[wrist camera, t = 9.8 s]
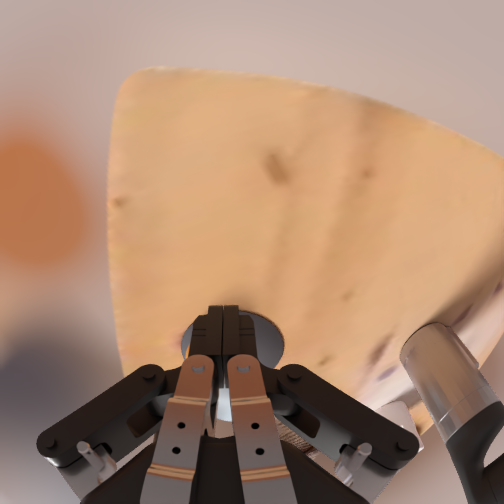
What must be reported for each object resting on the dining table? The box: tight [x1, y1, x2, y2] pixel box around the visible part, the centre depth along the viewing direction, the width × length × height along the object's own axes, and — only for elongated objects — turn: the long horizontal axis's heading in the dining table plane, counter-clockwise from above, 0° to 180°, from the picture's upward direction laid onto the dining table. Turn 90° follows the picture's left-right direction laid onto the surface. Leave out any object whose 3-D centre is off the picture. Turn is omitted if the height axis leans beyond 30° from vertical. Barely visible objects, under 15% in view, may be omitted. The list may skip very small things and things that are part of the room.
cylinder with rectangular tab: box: [375, 401, 424, 452], centre depth 41 cm, size 9×9×12 cm
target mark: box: [181, 311, 283, 383], centre depth 35 cm, size 13×13×1 cm
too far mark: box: [217, 383, 232, 421], centre depth 40 cm, size 11×11×1 cm
